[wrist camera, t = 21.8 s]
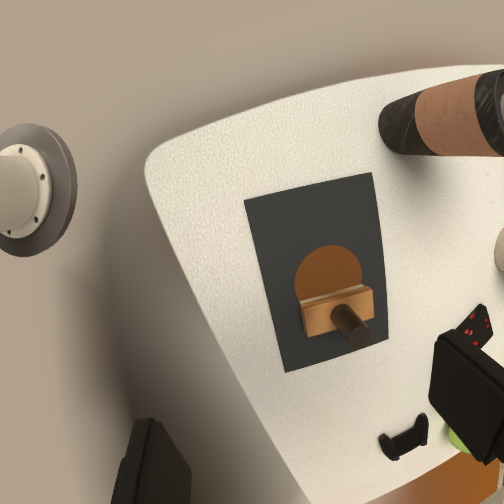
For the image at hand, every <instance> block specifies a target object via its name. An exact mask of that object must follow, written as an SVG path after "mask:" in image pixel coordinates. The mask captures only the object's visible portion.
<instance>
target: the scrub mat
mask: <svg viewBox="0 0 504 504" xmlns="http://www.w3.org/2000/svg"><path fill="white" fill-rule="evenodd" d="M244 204H245V208H246V212H247V216H248V220H249V224H250V229H251V233H252V237H253V241H254V245H255V249H256V253H257V257H258V261H259V266H260V270H261V274H262V278H263V282H264V286H265V290H266V295H267V299H268V303H269V307H270V311H271V315H272V320H273V324H274V328H275V332H276V336H277V340H278V345H279V349H280V353H281V357H282V361H283V366H284V370H285V373H286V372H290V371H294V370H297V369H301V368H304V367H307V366H311V365H314V364H317V363H321V362H324V361H327V360H330V359H333V358H336V357H339V356H342V355H345V354H348V353H351V352H354V351H357V350H360V349H362V348H365V347H368V346H371V345H373V344H376V343H379V342H381V341H384V340H387V339H389V337H388V308H387V291H386V277H385V266H384V255H383V246H382V237H381V229H380V222H379V214H378V207H377V201H376V195H375V189H374V183H373V177H372V173H371V172H370V173H365V174H359V175H354V176H349V177H345V178H340V179H335V180H330V181H325V182H321V183H316V184H311V185H307V186H302V187H298V188H294V189H289V190H285V191H280V192H276V193H272V194H268V195H264V196H259V197H255V198H251V199H247V200H244ZM360 284H363V285H364V286H369V287H370V288H371V289H372V291H373V307H374V318H371V319H368V320H365V321H364V323H365V324H366V325H367V326H368V327H369V328H370V329H371V332H372V337H371V340H370V341H369V343H368V344H367V345H366V346H364V347H362V348H360V349H354V348H352V347H350V346H349V344H348V343H347V341H346V340H345V339H344V337H343V336H342V335H341V333H340V332H339V330H338V329H336V330H333V331H329V332H326V333H322V334H319V335H315V336H312V337H307V335H306V333H305V330H304V324H303V318H302V312H301V306H300V301H303V300H307V299H310V298H314V297H318V296H321V295H325V294H329V293H332V292H336V291H339V290H343V289H346V288H350V287H353V286H357V285H360Z"/></svg>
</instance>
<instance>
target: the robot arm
mask: <svg viewBox="0 0 504 504" xmlns="http://www.w3.org/2000/svg"><path fill="white" fill-rule="evenodd" d="M51 196H52V181H51V175H50V171H49V168H48V165H47V163H46V161H45V160H44V158H43V156H42V155H41V154H40V153H39V152H38V151H37V150H36V149H34V148H33V147H31V146H28V145H22V144H16V145H12V146H8V147H7V148H5V149H4V150H2V151H1V152H0V233H2V234H4V235H5V236H7V237H11V238H22V237H26V236H28V235H30V234H32V233H33V232H35V231H36V230H37V229H38V228H39V227H40V226H41V225H42V223H43V221H44V220H45V218H46V216H47V213H48V211H49V207H50V203H51ZM428 398H429V401H430V403H431V405H432V406H433V407H434V409H435V410H436V411H437V412H438V413H439V415H440V416H441V417H442V418H443V419H444V421H445V422H446V423H447V424H448V425H449V427H450V428H451V429H452V430H453V432H454V433H455V434H456V435H457V437H458V438H459V439H460V440H461V441H462V443H463V444H464V445H465V446H466V448H467V449H468V450H469V451H470V453H471V454H472V455H473V456H474V458H475V459H476V460H477V461H479V462H481V461H482V462H483V463H484V465H485V466H486V465H487V464H489V463H490V462H491V461H493V460H494V459H496V458H498V459H499V460H500V462H501V464H500V473H499V481H498V487H497V491H496V492H495V493H494V494H492V495H491V496H490V497H488V498H487V499H486V500H484V501H483V502H481V503H480V504H504V368H503V367H502V366H501V365H500V364H498V363H497V362H496V361H495V360H493V359H492V358H491V357H490V356H488V355H487V354H486V353H485V352H483V351H482V350H481V349H480V348H478V347H477V346H476V345H474V344H473V343H472V342H471V341H469V340H468V339H467V338H465V337H464V336H463V335H461V334H460V333H459V332H458V331H456V330H454V329H451V330H449V331H447V332H445V333H443V334H441V335H439V336H438V338H437V341H436V342H435V344H434V355H433V365H432V373H431V381H430V388H429V395H428ZM191 477H192V476H191V469H190V467H189V465H188V464H187V462H186V461H185V459H184V458H183V456H182V455H181V453H180V452H179V450H178V449H177V447H176V446H175V444H174V443H173V441H172V440H171V438H170V436H169V435H168V433H167V431H166V430H165V428H164V427H163V425H162V423H161V422H160V421H156V420H155V419H154V418H143V419H136V420H135V422H134V425H133V429H132V433H131V436H130V440H129V444H128V448H127V452H126V456H125V457H124V458H123V459H122V460H121V463H120V467H119V470H118V474H117V479H116V483H115V487H114V491H113V495H112V500H111V504H190V503H191Z"/></svg>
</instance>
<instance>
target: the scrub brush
mask: <svg viewBox="0 0 504 504" xmlns="http://www.w3.org/2000/svg"><path fill="white" fill-rule="evenodd" d="M300 306H301V312H302V318H303V324H304V330H305V333H306V335H307V337H312V336H315V335H319V334H322V333H326V332H329V331H333V330H336V329H338V330H339V332H340V333H341V335H342V336H343V337H344V339H345V340H346V341H347V343H348V344H349V346H350V347H352V348H354V349H360V348H362V347H364V346H366V345H367V344H368V343H369V341H370V340H371V337H372V332H371V329H370V328H369V327H368V326H367V325H366V324H365V323H364V321H365V320H368V319H371V318H374V307H373V291H372V289H371V288H370V287H369V286H364V285H363V284H360V285H357V286H353V287H350V288H346V289H343V290H339V291H336V292H332V293H329V294H325V295H321V296H318V297H314V298H310V299H307V300H303V301H300Z"/></svg>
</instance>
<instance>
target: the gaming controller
mask: <svg viewBox="0 0 504 504" xmlns="http://www.w3.org/2000/svg"><path fill="white" fill-rule="evenodd" d="M428 427H429V423H428V418H427V416H426V414H425V413H422V414H420V415H419V416H418V418H417V421H416V425H415V428H414V429H411V430H409V431H408V432H406V433H405V434H403V435H401V436H399V437H396V438H394V439H393V440H391V439H390V438H389V437H388V436H386V435H385V434H383V435H380V436H379V443H380V446H381V449H382V451H383V453H384V454H385V455H386V456H387V457H388V458H389V459H390V460H392V461H397V460H399V459H400V458H399V456H401V455H403V454H405V453H407V452H409V451H411V450H413V449H415V448H416V447H418V446H419V445H420V446H425V445H427V438H428Z"/></svg>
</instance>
